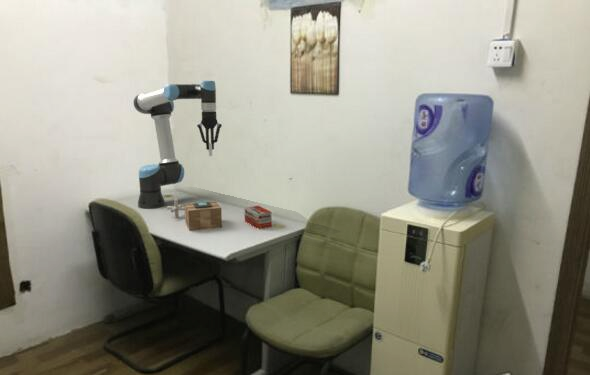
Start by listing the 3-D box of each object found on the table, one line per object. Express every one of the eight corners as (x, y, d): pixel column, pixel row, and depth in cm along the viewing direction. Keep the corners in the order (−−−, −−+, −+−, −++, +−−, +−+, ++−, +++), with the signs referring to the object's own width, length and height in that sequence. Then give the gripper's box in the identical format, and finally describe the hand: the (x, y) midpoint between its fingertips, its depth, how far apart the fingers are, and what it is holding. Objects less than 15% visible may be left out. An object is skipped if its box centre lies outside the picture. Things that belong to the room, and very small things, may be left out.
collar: (193, 204, 230) (193, 203, 230) (209, 203, 233) (209, 201, 233) (195, 208, 223) (195, 207, 222) (212, 207, 225) (212, 205, 225)
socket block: (185, 222, 234) (184, 203, 231) (216, 219, 239) (215, 201, 237) (189, 230, 221) (188, 210, 219) (221, 227, 226) (221, 208, 224)
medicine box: (244, 221, 236) (244, 207, 235) (258, 219, 241) (258, 205, 239) (258, 229, 224) (257, 214, 222) (272, 227, 228) (272, 211, 226)
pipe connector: (181, 220, 237) (180, 202, 235) (163, 219, 239) (162, 201, 236) (189, 215, 246) (188, 197, 244) (172, 214, 248) (171, 196, 246)
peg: (198, 218, 230) (197, 203, 229) (206, 217, 232) (205, 202, 230) (199, 220, 227) (199, 205, 225) (207, 219, 228) (207, 204, 226)
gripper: (197, 111, 231) (199, 157, 236) (222, 111, 235) (224, 156, 241) (195, 110, 238) (196, 155, 243) (219, 110, 242) (221, 154, 248)
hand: (210, 155), depth 242 cm, fingers closed
